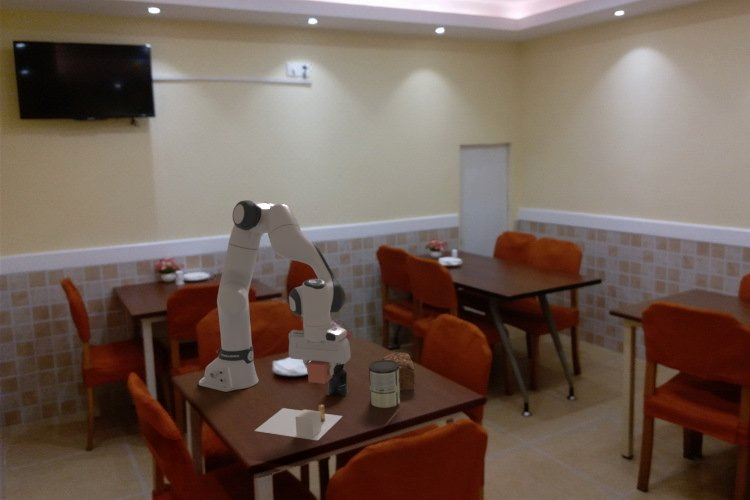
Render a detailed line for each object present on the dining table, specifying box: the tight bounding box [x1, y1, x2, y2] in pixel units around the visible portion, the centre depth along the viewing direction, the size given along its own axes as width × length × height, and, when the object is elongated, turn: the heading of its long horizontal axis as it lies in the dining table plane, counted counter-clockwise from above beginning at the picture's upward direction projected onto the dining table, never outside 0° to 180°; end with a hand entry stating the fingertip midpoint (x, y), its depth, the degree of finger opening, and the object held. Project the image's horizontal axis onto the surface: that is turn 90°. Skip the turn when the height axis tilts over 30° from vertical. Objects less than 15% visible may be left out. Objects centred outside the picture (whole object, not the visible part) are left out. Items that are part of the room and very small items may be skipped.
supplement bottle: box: [327, 363, 348, 398], centre depth 230 cm, size 7×7×12 cm
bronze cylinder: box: [317, 403, 326, 422], centre depth 208 cm, size 2×2×5 cm
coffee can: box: [368, 359, 401, 409], centre depth 220 cm, size 10×10×14 cm
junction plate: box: [254, 407, 343, 441], centre depth 207 cm, size 22×18×1 cm
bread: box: [382, 352, 416, 392], centre depth 241 cm, size 19×11×10 cm, turn 3°
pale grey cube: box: [296, 408, 321, 438], centre depth 200 cm, size 6×6×6 cm
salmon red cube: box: [307, 360, 332, 385], centre depth 206 cm, size 6×6×6 cm
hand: (320, 373), depth 206 cm, fingers closed on salmon red cube, 6 cm apart
